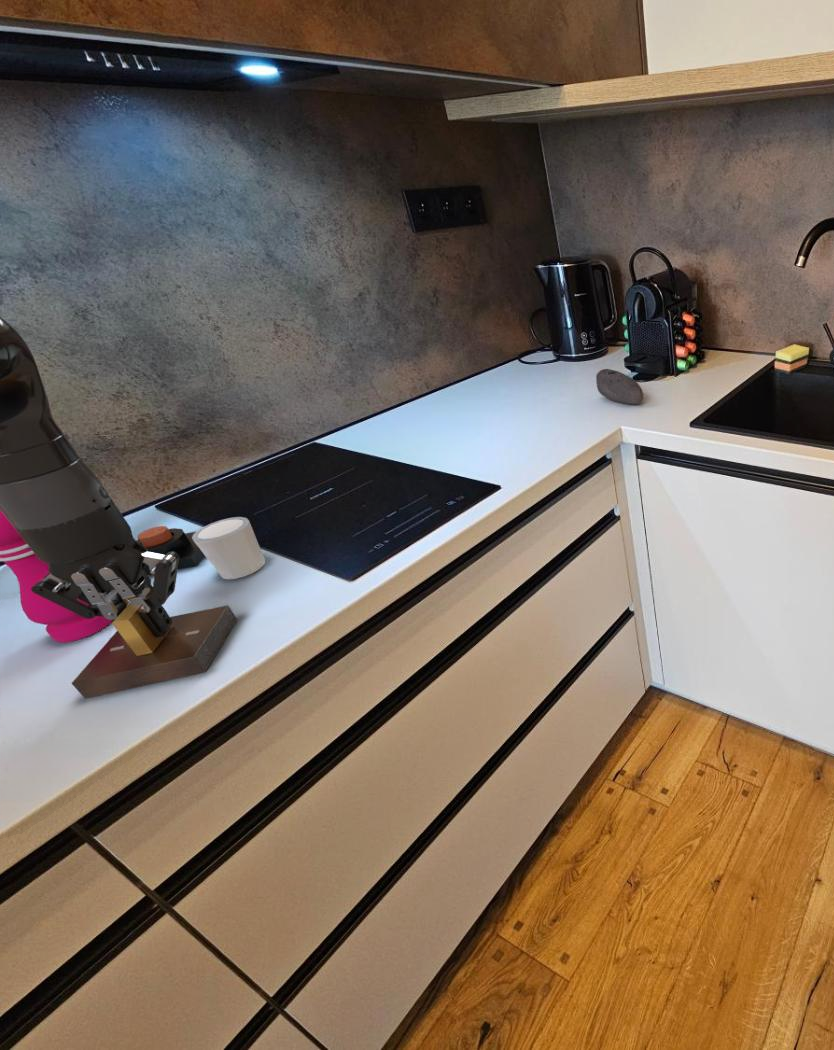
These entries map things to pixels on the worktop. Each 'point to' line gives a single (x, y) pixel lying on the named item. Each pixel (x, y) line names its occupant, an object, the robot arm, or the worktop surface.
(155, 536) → the button
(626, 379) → the perforated stone tool
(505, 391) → the worktop surface
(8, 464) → the robot arm
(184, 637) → the plate
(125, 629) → the lock knob
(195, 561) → the block
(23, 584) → the pepper mill
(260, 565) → the white cup
